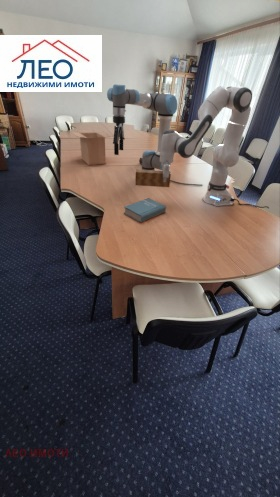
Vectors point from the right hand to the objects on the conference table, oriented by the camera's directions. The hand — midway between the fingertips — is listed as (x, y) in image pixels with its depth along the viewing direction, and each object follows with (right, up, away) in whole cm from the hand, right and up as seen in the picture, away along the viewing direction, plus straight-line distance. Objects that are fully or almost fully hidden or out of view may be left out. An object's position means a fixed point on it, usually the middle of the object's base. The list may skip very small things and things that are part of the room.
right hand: (164, 180), depth 150 cm
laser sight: (-7, +44, +89) cm, 99 cm away
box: (-67, +47, +87) cm, 119 cm away
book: (-13, -23, -3) cm, 27 cm away
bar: (-8, -3, +2) cm, 9 cm away
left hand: (-31, +18, -2) cm, 36 cm away
